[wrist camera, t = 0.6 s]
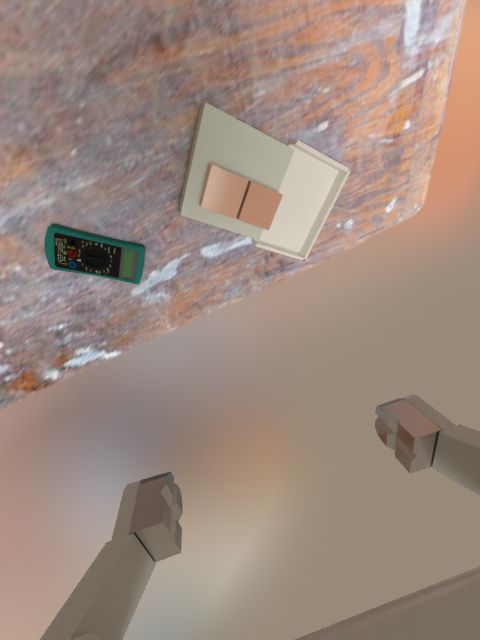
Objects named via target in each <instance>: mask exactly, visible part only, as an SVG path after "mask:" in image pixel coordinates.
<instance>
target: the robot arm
mask: <svg viewBox="0 0 480 640" xmlns="http://www.w3.org/2000/svg"><path fill="white" fill-rule="evenodd" d="M376 414H377V415H378V416H379V417H378V418H377V419H376V421H375V428H376V431H377V434H378V436H379V437H380V439H381V440H382V442H383V443H384V444H385V445H386V446H387V447H390V448H391V449H394V450H395V457H396V458H397V459H398V460H399V461H400V463H401V464H402V465H403V466H404V467H405V468H406V470H407V471H408V472H409V473H412V472H415V471H419V470H422V469H425V468H429V467H432V468H433V469H435V470H436V471H438V472H440V473H441V474H443V475H445V476H447V477H449V478H450V479H452V480H454V481H455V482H457V483H459V484H461V485H462V486H464V487H466V488H468V489H470V490H471V491H473V492H475V493H476V494H478V495H480V431H477V430H474V429H471V428H468V427H466V426H463V425H457V426H456V425H455V424H453V423H452V422H451V421H450V420H448V419H447V418H446V417H444V416H443V415H442V414H440V413H439V412H438V411H437V410H435V409H434V408H433V407H431V406H430V405H429V404H428V403H426V402H425V401H424V400H422V399H421V398H420V397H419V396H417V395H410V396H406V397H403V398H401V399H400V398H399V399H396V400H393V401H390V402H387V403H384V404H381V405H378V406H377V407H376ZM173 482H174V476H173V475H172V473H171V472H167V473H164V474H161V475H157V476H153V477H150V478H147V479H143V480H139V481H136V482H133V483H130V484H127V486H126V487H125V489H124V492H123V496H122V500H121V504H120V508H119V512H118V516H117V520H116V524H115V528H114V532H113V536H112V540H111V541H109V542H107V543H106V544H105V546H104V547H103V549H102V550H101V552H100V553H99V554H98V556H97V557H96V559H95V560H94V562H93V563H92V565H91V566H90V567H89V569H88V570H87V572H86V573H85V575H84V577H83V578H82V579H81V581H80V582H79V583H78V585H77V586H76V588H75V589H74V591H73V592H72V594H71V595H70V597H69V598H68V600H67V601H66V602H65V604H64V605H63V607H62V608H61V610H60V611H59V613H58V614H57V615H56V617H55V619H54V620H53V621H52V623H51V624H50V626H49V627H48V629H47V630H46V632H45V633H44V634H43V636H42V637H41V639H40V640H123V637H124V635H125V633H126V630H127V628H128V626H129V624H130V622H131V619H132V617H133V615H134V613H135V610H136V608H137V606H138V603H139V601H140V599H141V597H142V594H143V592H144V590H145V587H146V585H147V583H148V581H149V579H150V576H151V574H152V572H153V569H154V567H155V565H156V564H155V562H158V561H160V560H163V559H165V558H168V557H170V556H173V555H176V554H179V553H181V537H182V536H181V535H182V528H181V526H180V524H179V522H178V521H179V519H180V517H181V515H182V496H181V492H180V489H179V486H178V485H177V484H175V483H173ZM295 640H480V566H479V567H477V568H475V569H472V570H469V571H467V572H464V573H462V574H459V575H457V576H454V577H451V578H449V579H446V580H444V581H441V582H439V583H436V584H434V585H431V586H429V587H426V588H424V589H421V590H419V591H416V592H414V593H411V594H409V595H406V596H403V597H401V598H399V599H396V600H393V601H391V602H388V603H386V604H383V605H381V606H378V607H376V608H373V609H371V610H368V611H365V612H363V613H361V614H358V615H355V616H353V617H350V618H348V619H345V620H343V621H340V622H338V623H335V624H333V625H330V626H328V627H325V628H322V629H320V630H317V631H315V632H312V633H310V634H307V635H305V636H302V637H300V638H297V639H295Z"/></svg>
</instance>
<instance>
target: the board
mask: <svg viewBox="0 0 480 640" xmlns="http://www.w3.org/2000/svg"><path fill="white" fill-rule="evenodd" d="M293 153H294V149H292V148H290V147H288V146H286V145H285V144H283V143H281V142H279V141H277V140H275V139H273V138H272V137H270V136H268V135H266V134H264V133H262V132H260V131H258V130H257V129H255V128H253V127H251V126H249V125H247V124H245V123H244V122H242V121H240V120H238V119H236V118H234V117H232V116H230V115H229V114H227V113H225V112H223V111H221V110H219V109H217V108H216V107H214V106H212V105H210V104H208V103H206V102H205V103H204V104H202V105H201V108H200V113H199V117H198V122H197V127H196V131H195V136H194V141H193V145H192V150H191V154H190V159H189V164H188V168H187V173H186V178H185V182H184V187H183V191H182V196H181V201H180V205H179V213H180V215H182V216H185V217H188V218H191V219H194V220H197V221H200V222H204V223H207V224H210V225H213V226H216V227H219V228H223V229H226V230H229V231H232V232H235V233H238V234H241V235H245V236H248V237H251V238H254V239H257V240H260V237H261V234H262V232H263V228H260V227H257V226H254V225H252V224H249V223H246V222H243V221H240V220H238V219H237V218H236V219H234V218H231V217H228V216H225V215H222V214H219V213H217V212H214V211H211V210H208V209H205V208H202V207H201V206H200V205H199V203H200V199H201V195H202V191H203V187H204V183H205V179H206V175H207V171H208V167H209V164H212V165H215V166H217V167H219V168H222V169H224V170H226V171H229V172H231V173H233V174H236V175H238V176H240V177H243V178H245V179H247V180H249V181H252V182H254V183H257V184H259V185H261V186H264V187H266V188H268V189H271V190H273V191H275V192H278V191H279V189H280V186H281V184H282V181H283V178H284V176H285V173H286V171H287V168H288V166H289V163H290V161H291V158H292V156H293Z"/></svg>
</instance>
